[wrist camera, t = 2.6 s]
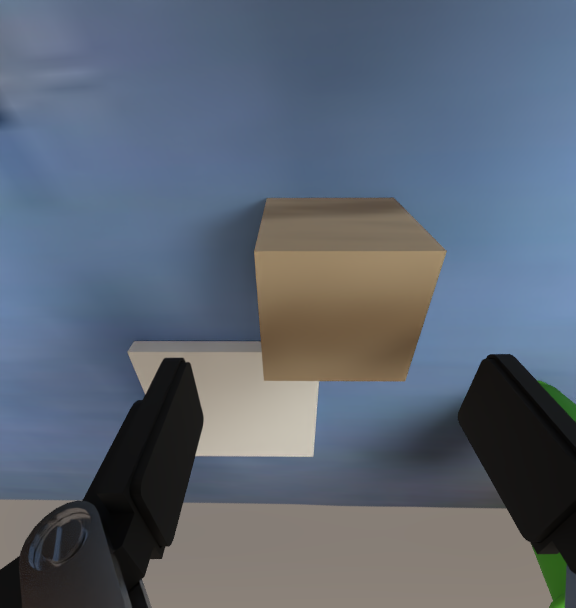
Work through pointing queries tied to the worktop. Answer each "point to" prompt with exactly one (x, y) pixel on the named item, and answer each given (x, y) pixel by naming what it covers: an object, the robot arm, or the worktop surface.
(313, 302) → the block
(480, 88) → the worktop surface
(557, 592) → the cup
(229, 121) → the worktop surface
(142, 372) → the panel
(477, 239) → the worktop surface
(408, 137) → the worktop surface
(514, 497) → the robot arm
